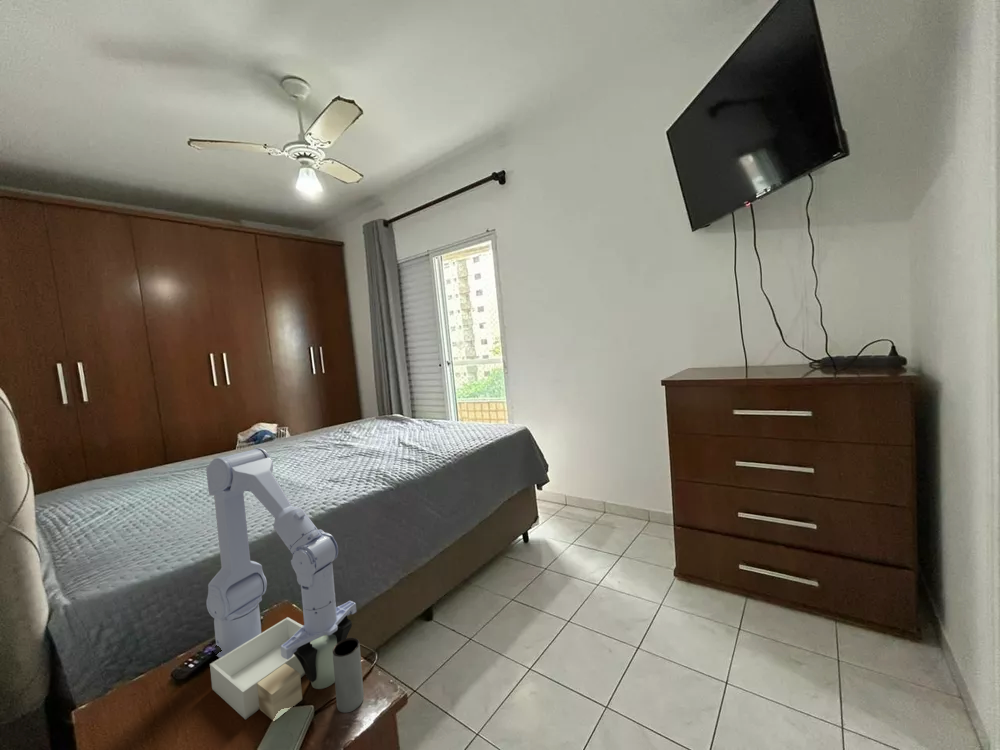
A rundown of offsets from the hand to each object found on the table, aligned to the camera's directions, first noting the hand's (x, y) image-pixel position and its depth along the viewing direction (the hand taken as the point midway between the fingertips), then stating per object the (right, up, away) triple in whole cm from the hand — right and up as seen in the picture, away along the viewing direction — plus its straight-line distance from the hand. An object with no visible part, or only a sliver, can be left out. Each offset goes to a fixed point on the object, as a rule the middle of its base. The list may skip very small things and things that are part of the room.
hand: (324, 668), depth 75 cm
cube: (-6, -3, -5) cm, 8 cm away
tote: (-12, -3, +2) cm, 12 cm away
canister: (0, -2, 0) cm, 2 cm away
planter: (+7, -2, -6) cm, 9 cm away
